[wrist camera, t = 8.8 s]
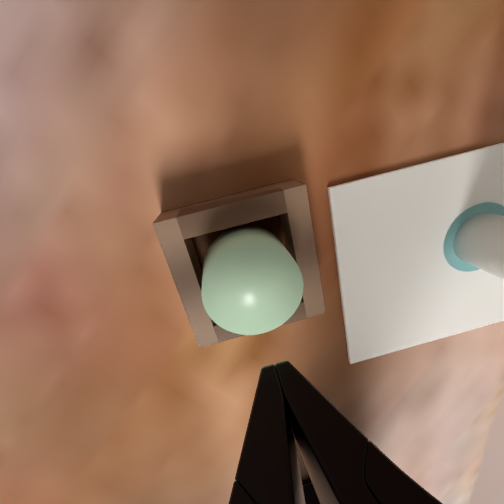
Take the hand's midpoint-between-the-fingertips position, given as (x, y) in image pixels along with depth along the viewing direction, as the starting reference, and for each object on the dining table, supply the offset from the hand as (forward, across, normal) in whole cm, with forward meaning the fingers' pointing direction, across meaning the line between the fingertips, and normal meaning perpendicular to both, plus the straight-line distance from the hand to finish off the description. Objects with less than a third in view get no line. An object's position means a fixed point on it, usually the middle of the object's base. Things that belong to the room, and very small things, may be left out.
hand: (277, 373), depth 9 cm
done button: (+8, 0, 0) cm, 8 cm away
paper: (+10, -14, +4) cm, 18 cm away
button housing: (+10, 0, 0) cm, 10 cm away
